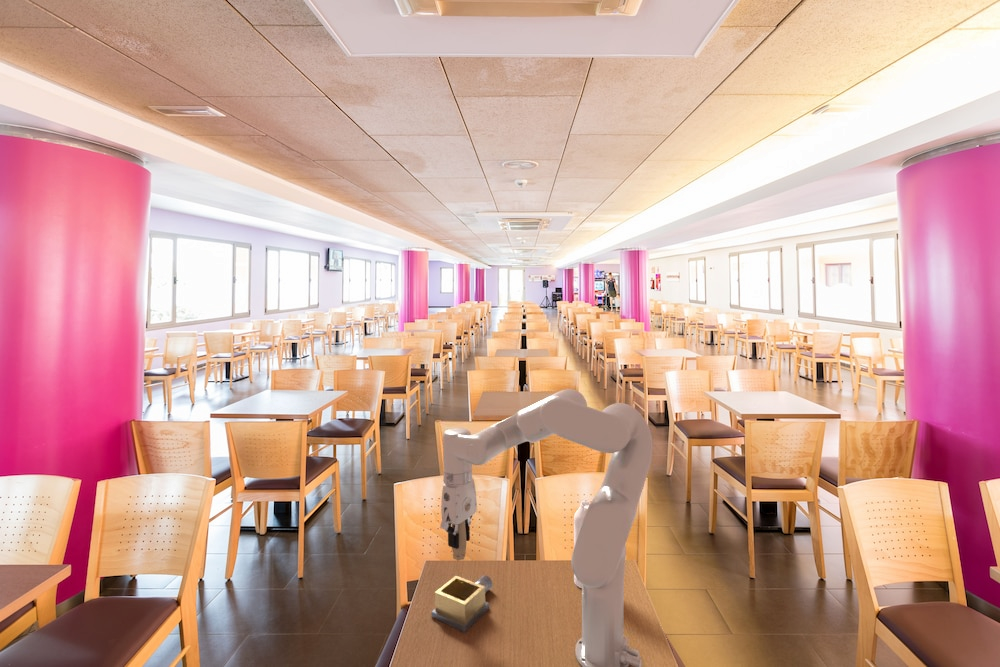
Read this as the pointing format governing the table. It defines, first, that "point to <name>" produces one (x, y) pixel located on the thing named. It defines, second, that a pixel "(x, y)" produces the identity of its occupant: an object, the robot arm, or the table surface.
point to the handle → (461, 540)
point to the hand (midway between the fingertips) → (459, 542)
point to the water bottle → (577, 525)
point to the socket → (461, 601)
